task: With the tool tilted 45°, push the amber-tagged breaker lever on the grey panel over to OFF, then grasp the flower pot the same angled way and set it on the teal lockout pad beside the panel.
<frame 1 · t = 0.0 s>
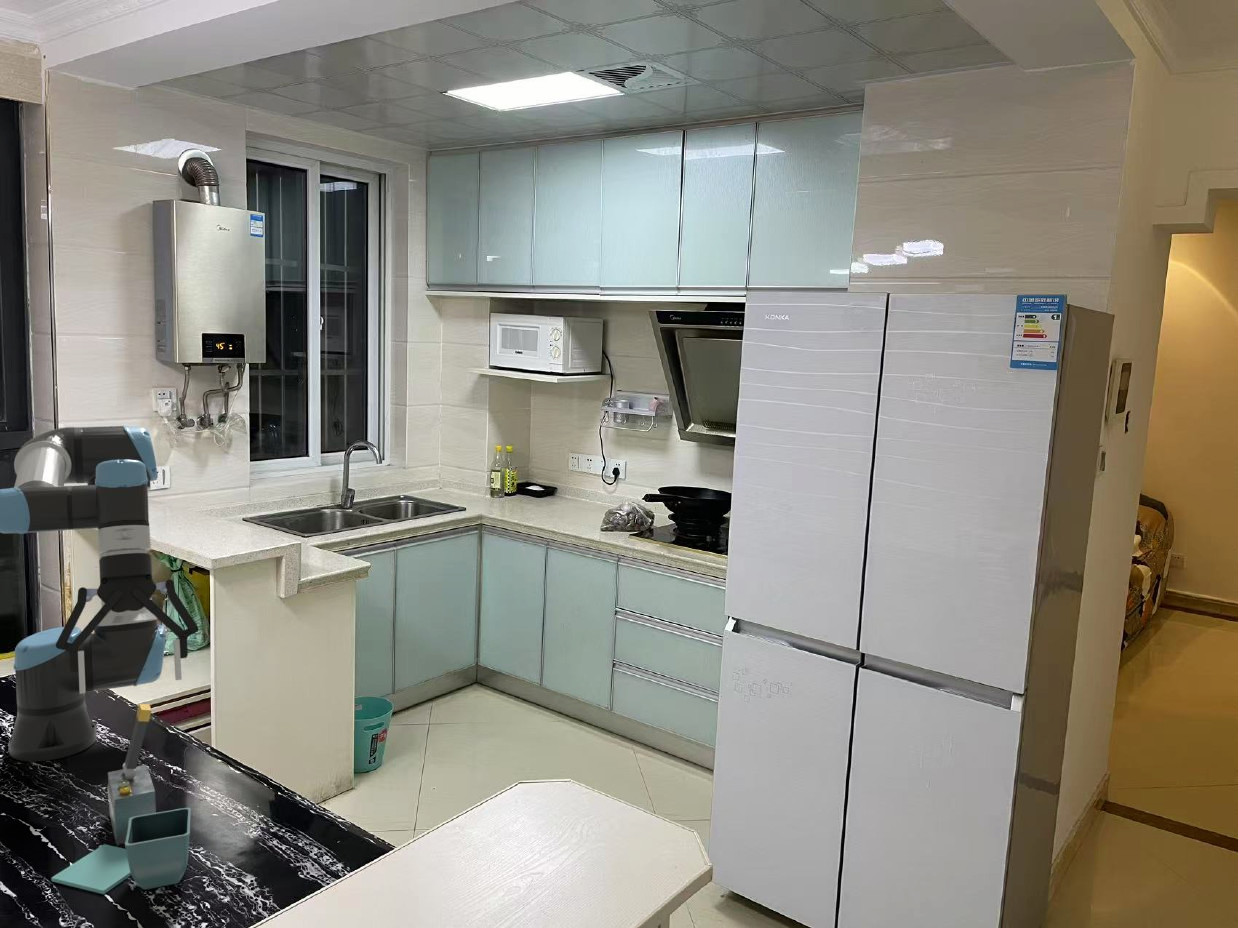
hand: (131, 686, 148), 28 cm above the countertop, tool tilted 20°, fingers open, 13 cm apart
lockout pad: (104, 869, 145), on the countertop
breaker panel: (132, 825, 159), on the countertop
breaker lever: (136, 740, 159), point 14 cm above the countertop, hinge at -15.0°
flower pot: (161, 880, 144), on the countertop
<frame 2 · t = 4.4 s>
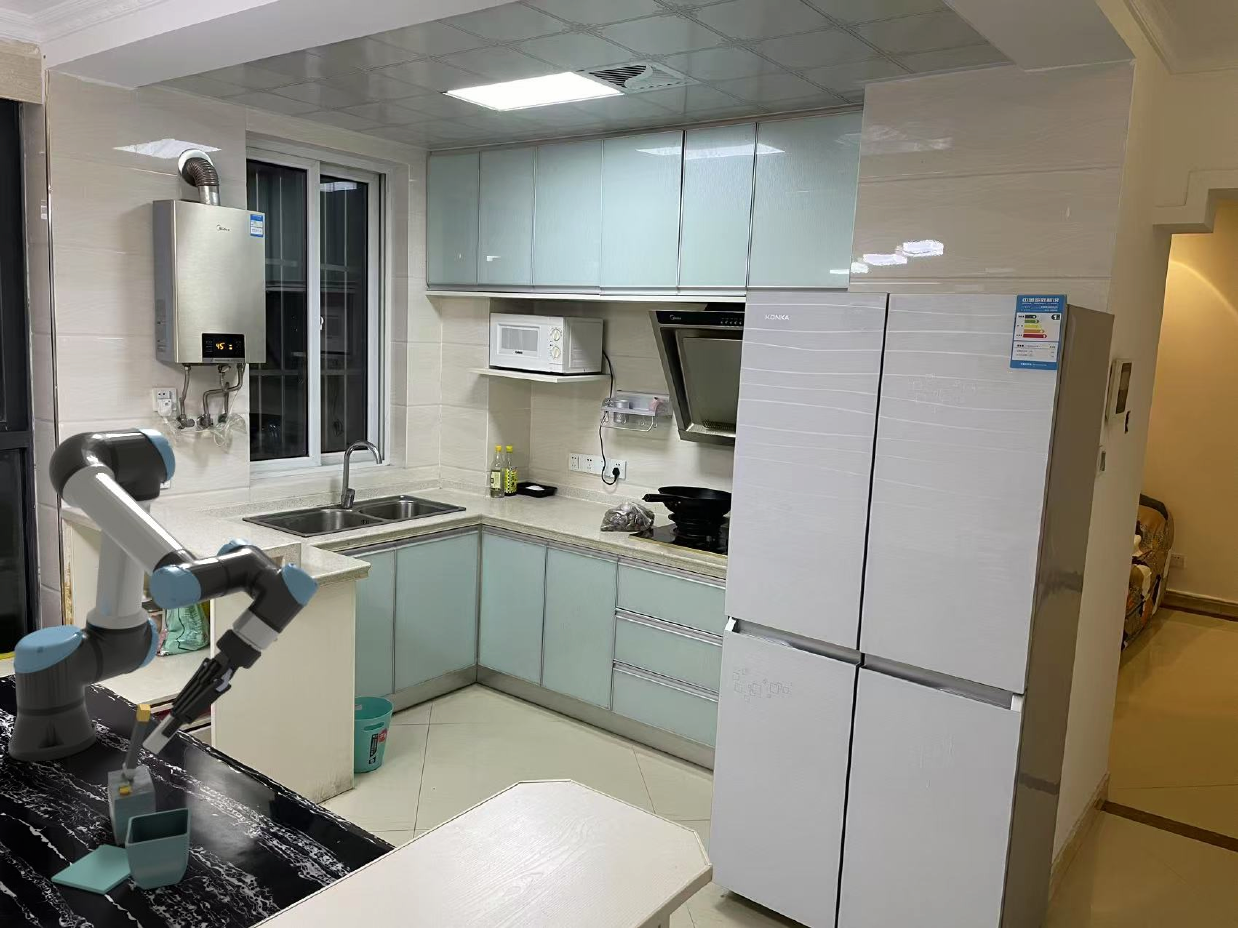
hand: (149, 748, 160), 13 cm above the countertop, tool tilted 45°, fingers closed
breaker lever: (136, 740, 159), point 14 cm above the countertop, hinge at -14.6°, touching gripper
everything else where it was.
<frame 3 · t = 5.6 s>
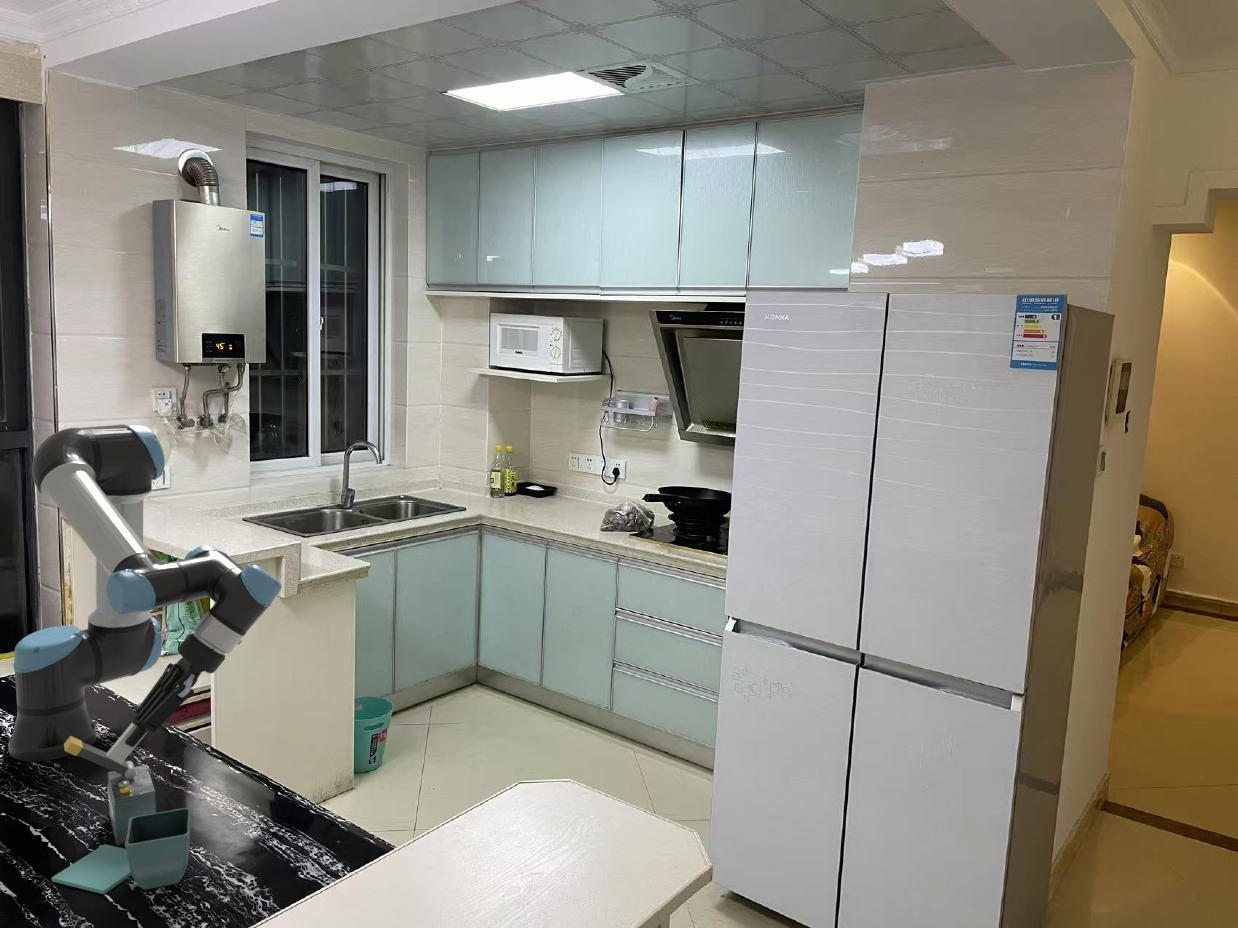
hand: (113, 758, 157), 12 cm above the countertop, tool tilted 40°, fingers closed
breaker lever: (101, 757, 157), point 12 cm above the countertop, hinge at 52.2°, touching gripper
everything else where it was.
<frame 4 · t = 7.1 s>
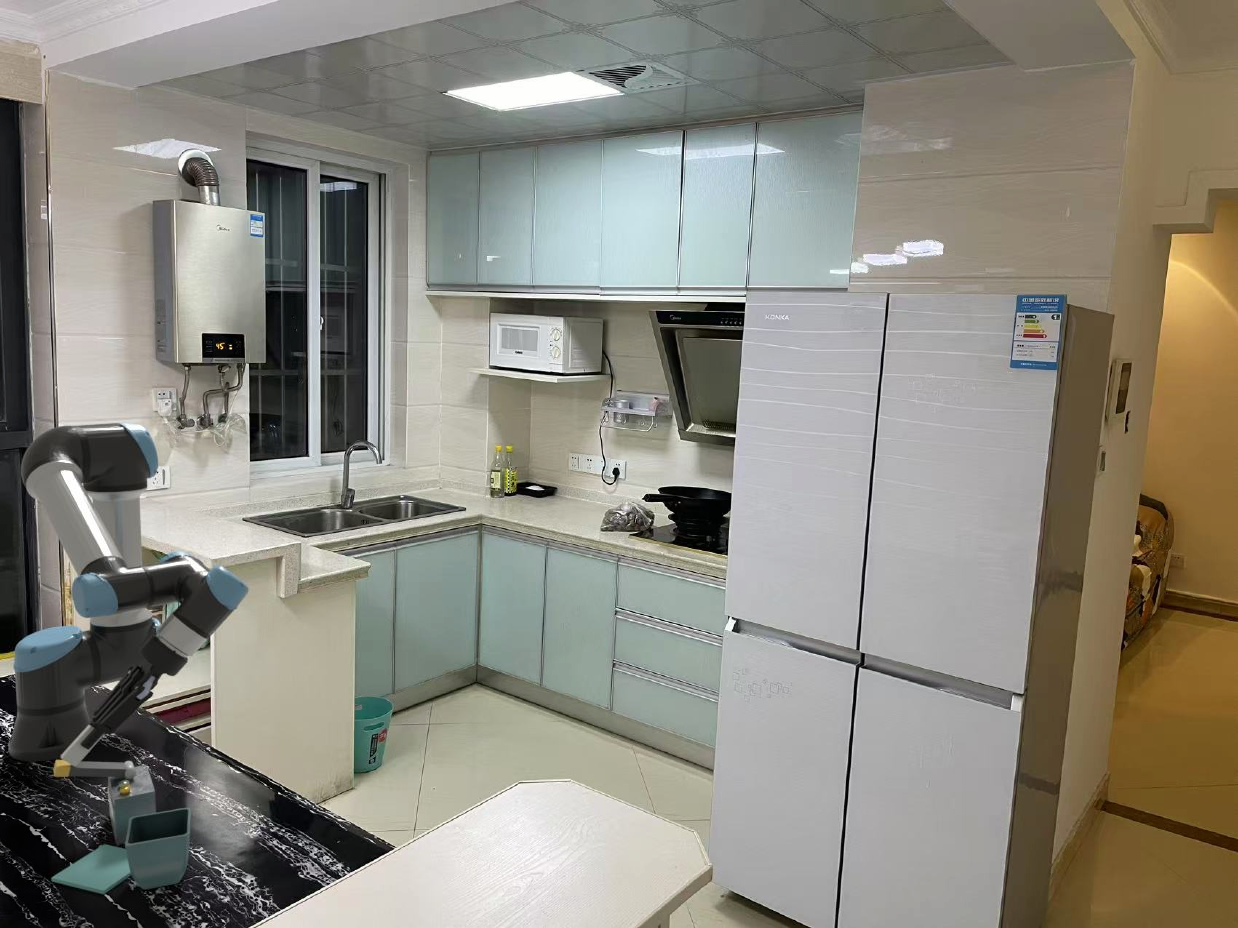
hand: (68, 760, 153), 13 cm above the countertop, tool tilted 45°, fingers closed
breaker lever: (95, 769, 156), point 10 cm above the countertop, hinge at 74.5°, touching gripper
everything else where it was.
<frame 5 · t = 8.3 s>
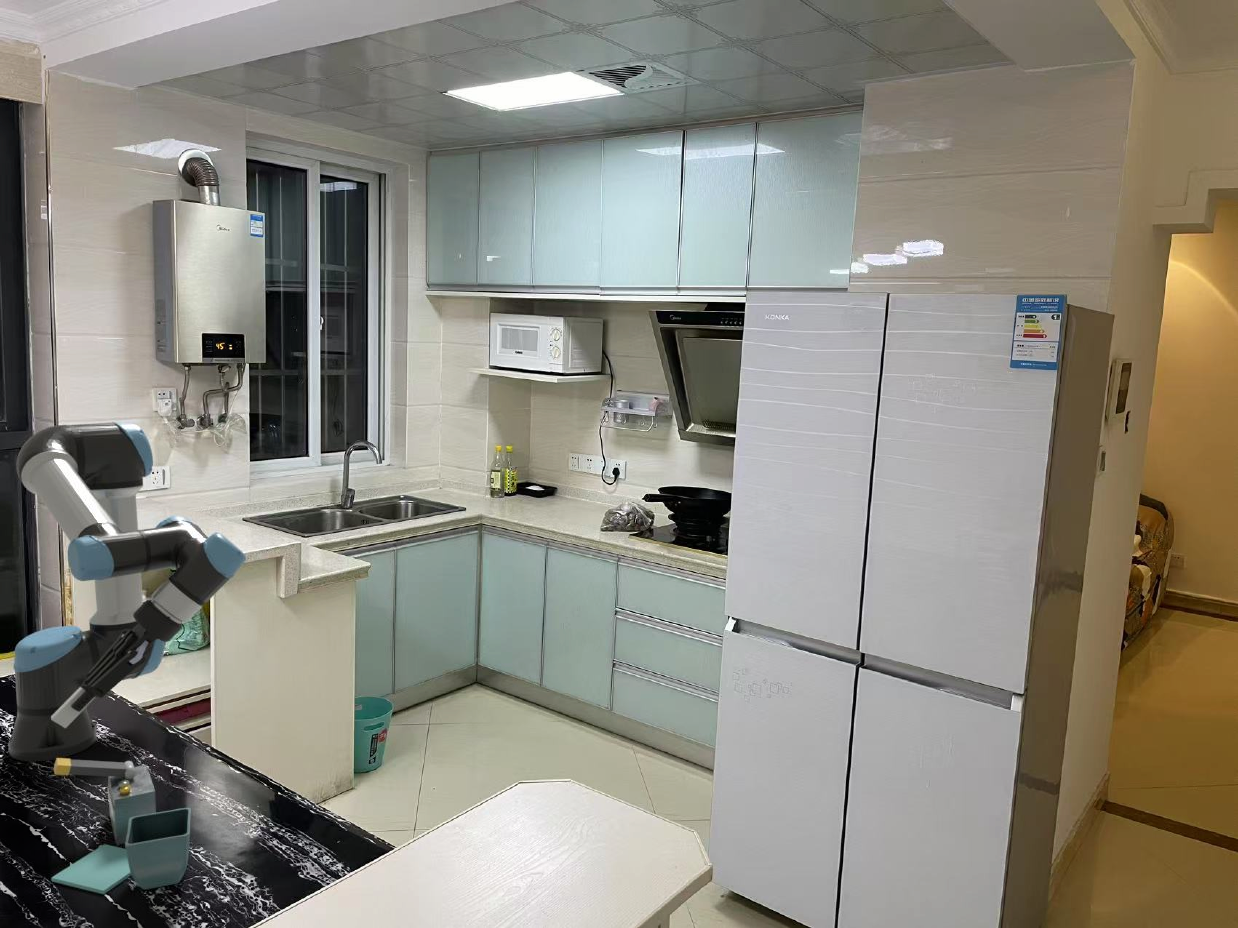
hand: (58, 722, 152), 20 cm above the countertop, tool tilted 45°, fingers closed
breaker lever: (95, 768, 156), point 11 cm above the countertop, hinge at 72.8°
everything else where it was.
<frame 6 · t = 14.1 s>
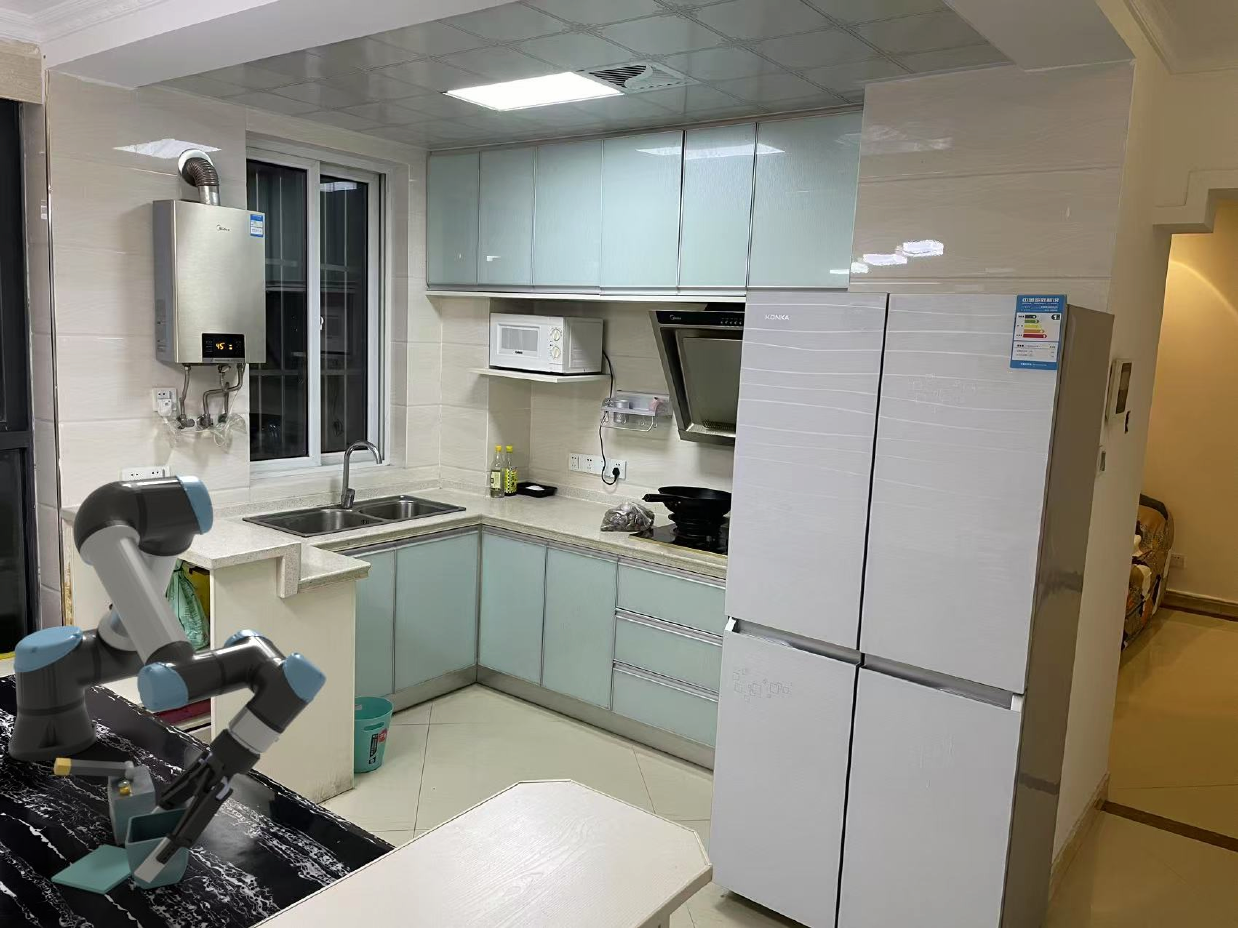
hand: (137, 861, 141), 4 cm above the countertop, tool tilted 45°, fingers closed on flower pot, 9 cm apart
flower pot: (161, 879, 144), on the countertop, touching gripper
everything else where it was.
when the fingers open (5 cm above the countertop, at t = 19.2 s): flower pot stays where it is, resting on lockout pad.
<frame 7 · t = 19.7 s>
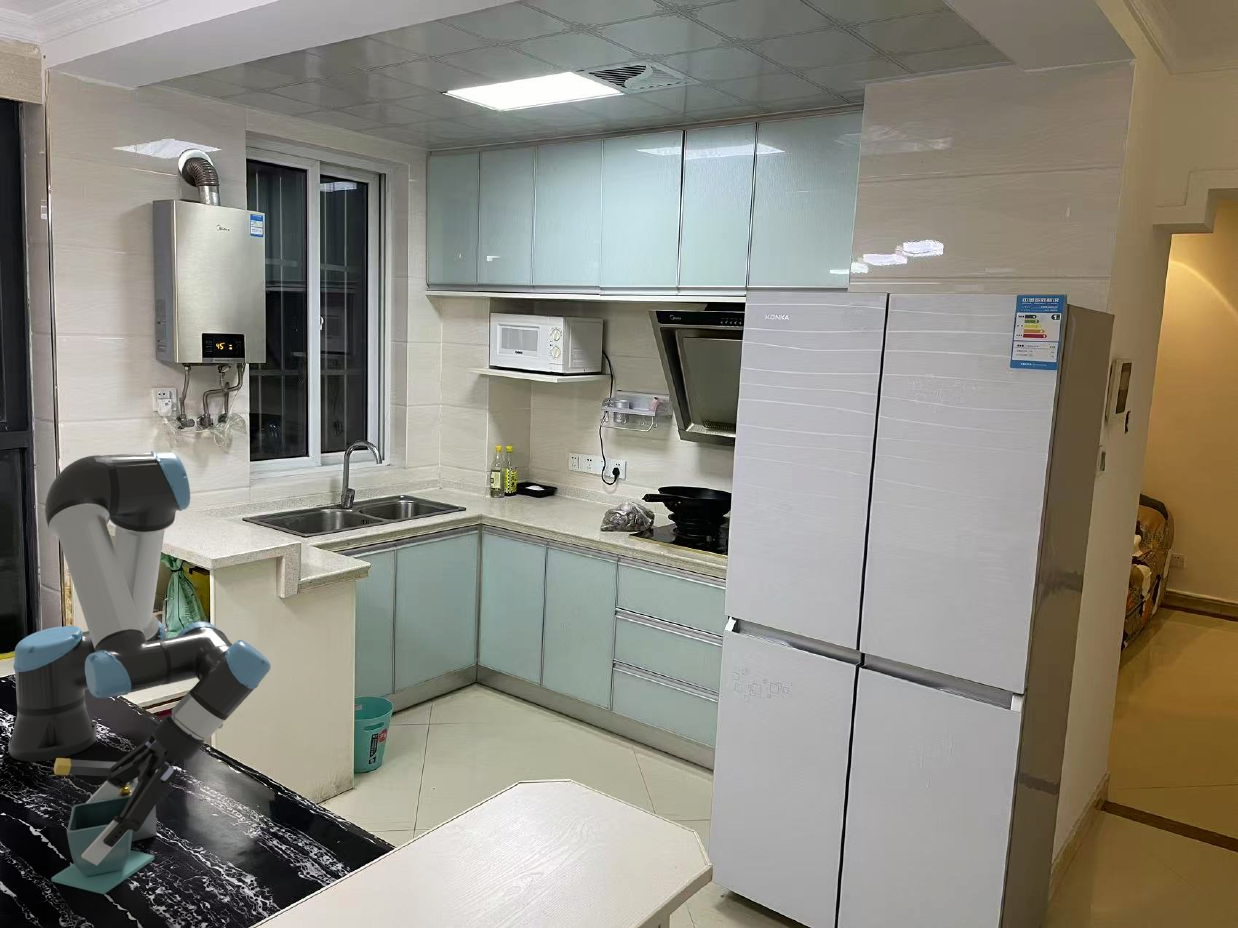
hand: (85, 839, 143), 6 cm above the countertop, tool tilted 45°, fingers open, 13 cm apart
flower pot: (104, 867, 146), resting on lockout pad
everything else where it was.
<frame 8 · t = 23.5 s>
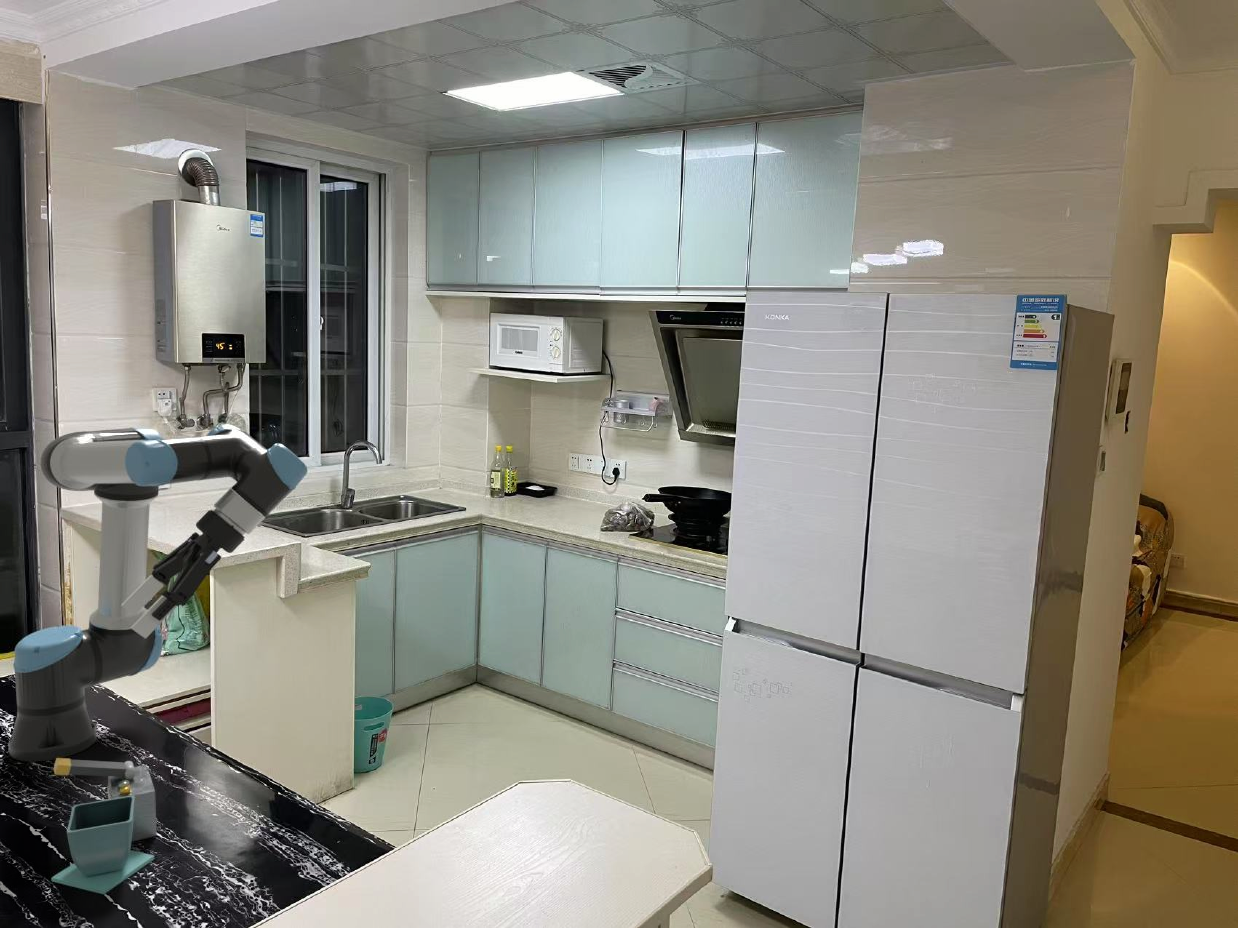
hand: (132, 621, 149), 38 cm above the countertop, tool tilted 45°, fingers open, 13 cm apart
nothing on the countertop moved.
at the end: breaker lever at +73° (first picture: -15°); flower pot inside the target area (0.1 cm from its centre), resting on lockout pad; flower pot tilted 0° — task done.
